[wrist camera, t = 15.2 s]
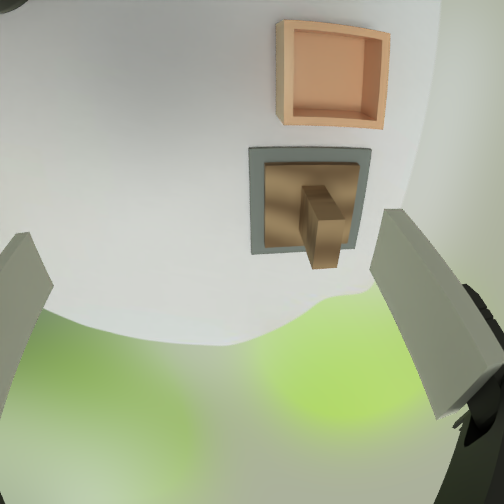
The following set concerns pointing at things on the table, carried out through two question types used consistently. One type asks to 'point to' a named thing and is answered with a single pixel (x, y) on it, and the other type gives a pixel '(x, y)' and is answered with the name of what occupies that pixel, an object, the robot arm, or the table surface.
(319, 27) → the open tan tray
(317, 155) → the mat
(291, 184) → the lid
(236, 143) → the table surface
